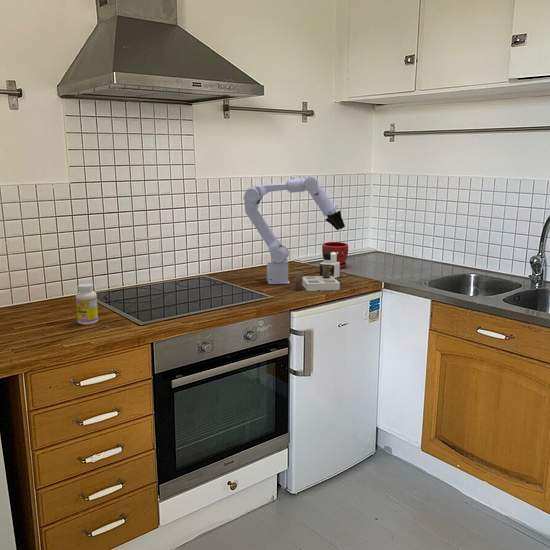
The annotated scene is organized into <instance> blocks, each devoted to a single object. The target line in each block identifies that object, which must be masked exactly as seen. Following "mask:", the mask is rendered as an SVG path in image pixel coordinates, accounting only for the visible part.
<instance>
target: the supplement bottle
mask: <svg viewBox="0 0 550 550" xmlns="http://www.w3.org/2000/svg"><path fill="white" fill-rule="evenodd" d="M77 288H78V292H77V293H76V294H75V302H76V303H75V306H76V319H77V323H78V324H79V325H85V326H87V325H88V326H89V325H93V324H96V323H98V322H99V313H98V312H99V311H98V296H97V293H96V292H95V291H94V284H93V283H80V284H78V286H77Z"/></svg>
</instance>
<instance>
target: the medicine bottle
mask: <svg viewBox="0 0 550 550" xmlns="http://www.w3.org/2000/svg"><path fill="white" fill-rule="evenodd" d="M337 253H338V252H337ZM337 253H335V252H325V253H324V255H323V254H322V258H323V262H320V263H319V276H323V266H330V276H333V277H334V278H336V279H338V278H339V277H340V273H341V272H340V269H341V268H340V262H336V261H337ZM337 277H338V278H337Z"/></svg>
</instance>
